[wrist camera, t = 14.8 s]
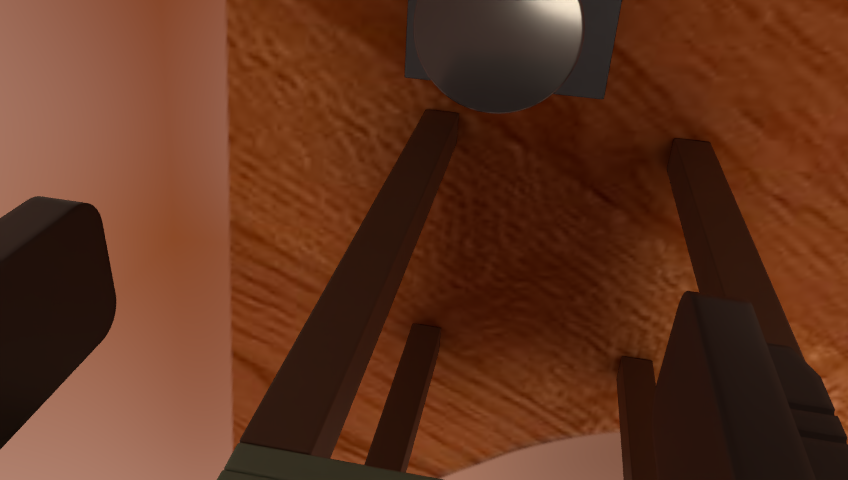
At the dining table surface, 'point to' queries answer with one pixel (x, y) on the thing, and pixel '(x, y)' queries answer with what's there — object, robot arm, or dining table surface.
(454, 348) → the dining table surface
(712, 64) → the dining table surface
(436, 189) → the cabinet
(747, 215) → the dining table surface
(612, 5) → the coaster
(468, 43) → the jar
